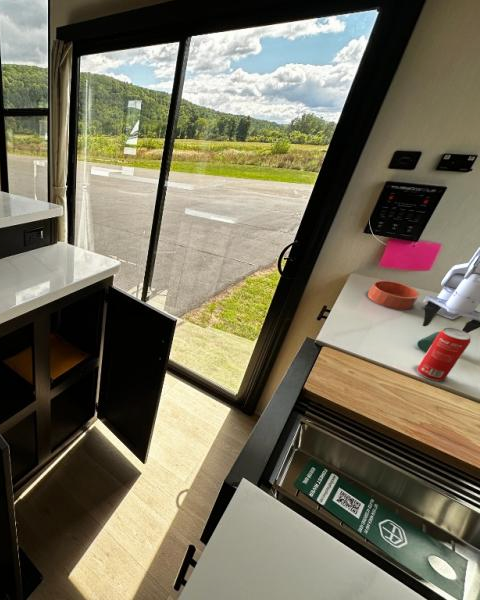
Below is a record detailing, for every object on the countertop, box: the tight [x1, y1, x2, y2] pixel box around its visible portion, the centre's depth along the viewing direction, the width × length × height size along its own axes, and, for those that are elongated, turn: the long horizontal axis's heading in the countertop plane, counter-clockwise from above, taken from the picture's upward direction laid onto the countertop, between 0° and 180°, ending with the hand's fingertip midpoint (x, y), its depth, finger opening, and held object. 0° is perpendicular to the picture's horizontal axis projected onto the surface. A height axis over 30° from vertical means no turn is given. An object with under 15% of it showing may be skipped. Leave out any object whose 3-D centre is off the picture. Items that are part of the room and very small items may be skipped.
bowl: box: [367, 279, 420, 310], centre depth 122 cm, size 13×13×5 cm
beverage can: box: [416, 327, 472, 382], centre depth 87 cm, size 6×6×15 cm
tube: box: [417, 331, 440, 353], centre depth 100 cm, size 9×4×4 cm, turn 114°
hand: (440, 332), depth 98 cm, fingers open, 7 cm apart
